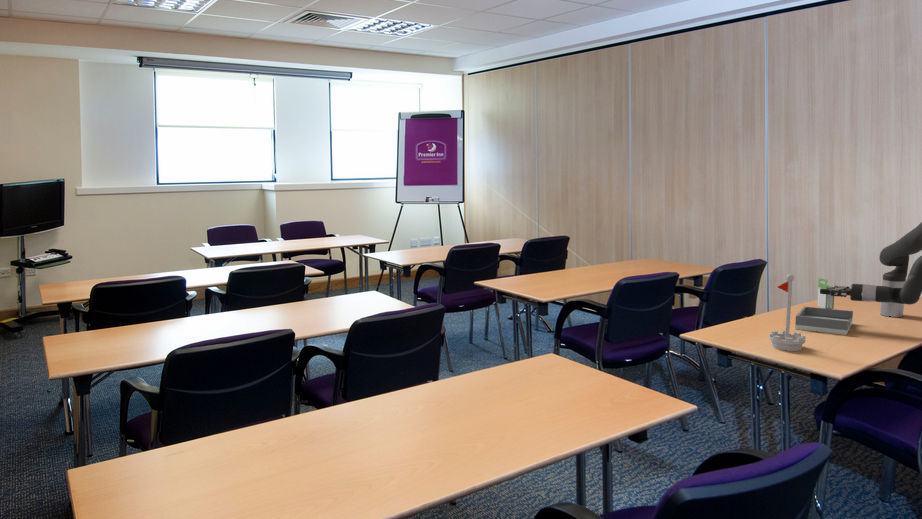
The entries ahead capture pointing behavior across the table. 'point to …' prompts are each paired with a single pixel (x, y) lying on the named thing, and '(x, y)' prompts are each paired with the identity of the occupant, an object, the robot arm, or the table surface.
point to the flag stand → (787, 325)
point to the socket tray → (824, 320)
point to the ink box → (825, 296)
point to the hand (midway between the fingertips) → (821, 289)
